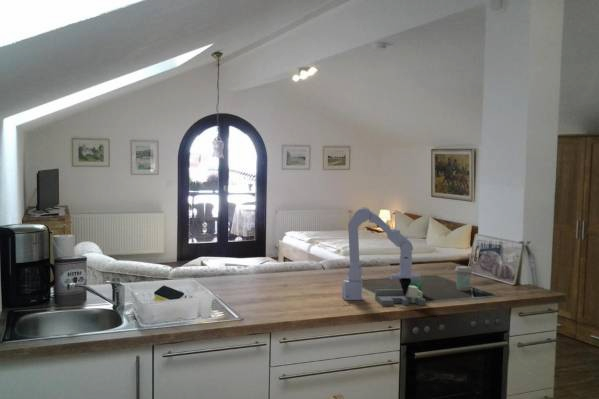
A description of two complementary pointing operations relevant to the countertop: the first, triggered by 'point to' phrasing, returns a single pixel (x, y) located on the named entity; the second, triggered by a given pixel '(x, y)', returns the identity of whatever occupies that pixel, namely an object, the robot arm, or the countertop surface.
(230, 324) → the countertop surface
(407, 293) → the cream block
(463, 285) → the coffee cup
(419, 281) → the food container
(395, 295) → the trap board
